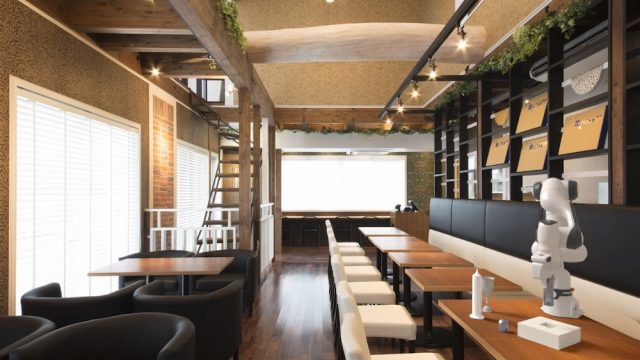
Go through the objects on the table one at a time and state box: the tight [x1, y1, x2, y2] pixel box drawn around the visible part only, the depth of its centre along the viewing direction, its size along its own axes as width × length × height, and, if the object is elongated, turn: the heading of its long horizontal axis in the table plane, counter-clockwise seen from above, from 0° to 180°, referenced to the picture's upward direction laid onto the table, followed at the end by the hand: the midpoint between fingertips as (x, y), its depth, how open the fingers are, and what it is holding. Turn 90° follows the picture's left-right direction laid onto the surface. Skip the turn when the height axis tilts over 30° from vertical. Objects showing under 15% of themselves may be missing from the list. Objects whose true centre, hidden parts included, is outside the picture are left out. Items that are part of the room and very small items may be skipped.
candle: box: [469, 268, 485, 320], centre depth 206 cm, size 7×7×25 cm
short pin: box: [498, 318, 509, 334], centre depth 187 cm, size 4×4×5 cm
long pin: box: [542, 274, 554, 306], centre depth 178 cm, size 4×4×14 cm
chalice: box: [482, 276, 495, 313], centre depth 217 cm, size 7×7×18 cm
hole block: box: [517, 315, 582, 351], centre depth 178 cm, size 18×18×6 cm
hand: (548, 287), depth 178 cm, fingers closed on long pin, 4 cm apart
